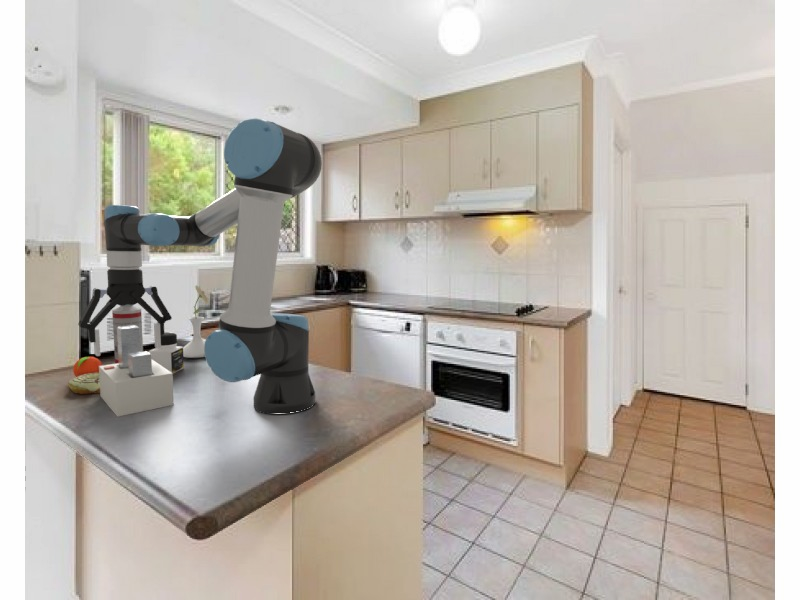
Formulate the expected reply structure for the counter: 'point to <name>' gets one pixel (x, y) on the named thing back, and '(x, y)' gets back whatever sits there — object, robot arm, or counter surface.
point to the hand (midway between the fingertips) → (128, 351)
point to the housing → (135, 389)
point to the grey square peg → (139, 364)
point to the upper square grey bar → (127, 343)
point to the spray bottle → (126, 323)
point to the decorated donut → (85, 383)
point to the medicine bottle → (169, 353)
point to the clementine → (86, 366)
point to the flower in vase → (196, 332)
